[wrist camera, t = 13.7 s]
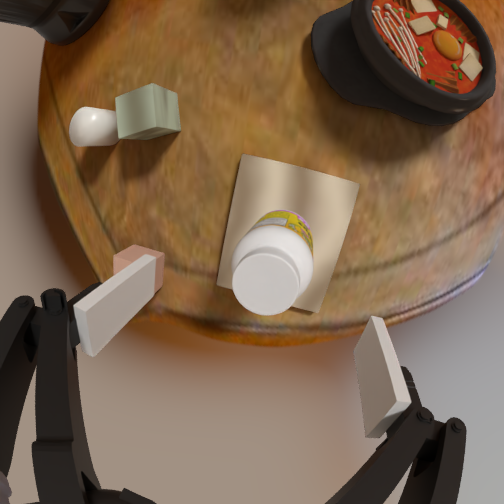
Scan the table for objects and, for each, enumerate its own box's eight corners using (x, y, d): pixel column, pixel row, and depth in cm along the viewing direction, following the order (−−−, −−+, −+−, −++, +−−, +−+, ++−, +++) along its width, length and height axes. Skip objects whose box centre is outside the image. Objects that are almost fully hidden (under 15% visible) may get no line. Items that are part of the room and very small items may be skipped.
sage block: (146, 140, 31) (118, 138, 26) (143, 104, 30) (115, 97, 24) (181, 130, 30) (156, 126, 25) (177, 93, 29) (152, 83, 23)
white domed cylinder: (96, 144, 33) (66, 145, 27) (101, 111, 31) (72, 107, 25) (121, 147, 32) (92, 147, 27) (127, 111, 30) (99, 106, 25)
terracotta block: (133, 275, 38) (114, 290, 33) (134, 244, 36) (113, 255, 32) (162, 285, 38) (144, 302, 33) (165, 253, 36) (145, 266, 31)
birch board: (219, 281, 35) (216, 284, 34) (244, 154, 30) (242, 153, 29) (317, 308, 34) (318, 313, 33) (357, 183, 28) (359, 184, 27)
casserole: (338, 141, 27) (350, 133, 20) (289, 6, 23) (283, -31, 15) (502, 123, 21) (541, 120, 13) (455, 4, 16) (480, -19, 8)
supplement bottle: (315, 263, 31) (316, 326, 19) (258, 268, 32) (227, 329, 20) (309, 204, 29) (309, 234, 17) (249, 211, 31) (209, 244, 19)
